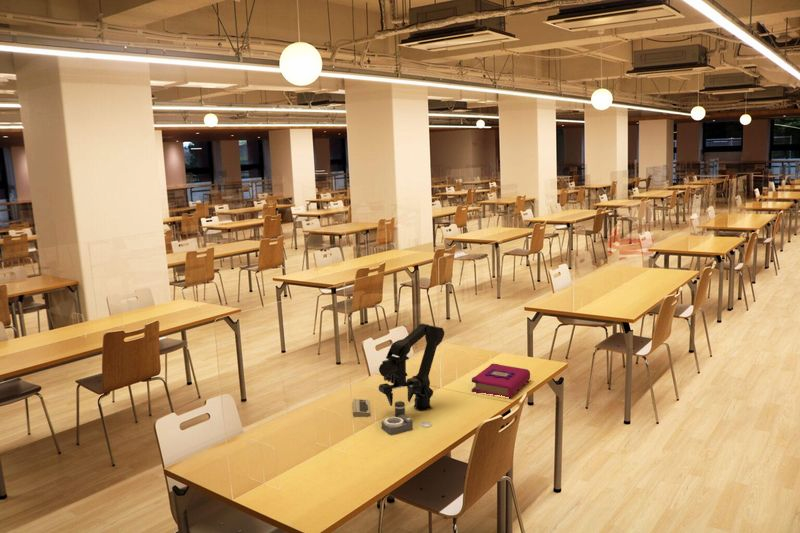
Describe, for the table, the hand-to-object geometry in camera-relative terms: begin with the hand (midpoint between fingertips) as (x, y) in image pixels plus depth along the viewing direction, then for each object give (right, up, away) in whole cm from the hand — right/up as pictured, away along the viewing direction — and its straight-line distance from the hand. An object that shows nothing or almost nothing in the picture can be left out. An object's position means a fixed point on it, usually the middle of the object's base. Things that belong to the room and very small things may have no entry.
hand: (400, 403), depth 308 cm
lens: (0, -7, +1) cm, 7 cm away
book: (+51, 0, +39) cm, 64 cm away
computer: (-18, -6, +11) cm, 22 cm away
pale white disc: (+12, -8, -7) cm, 16 cm away
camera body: (-1, -9, -11) cm, 14 cm away
